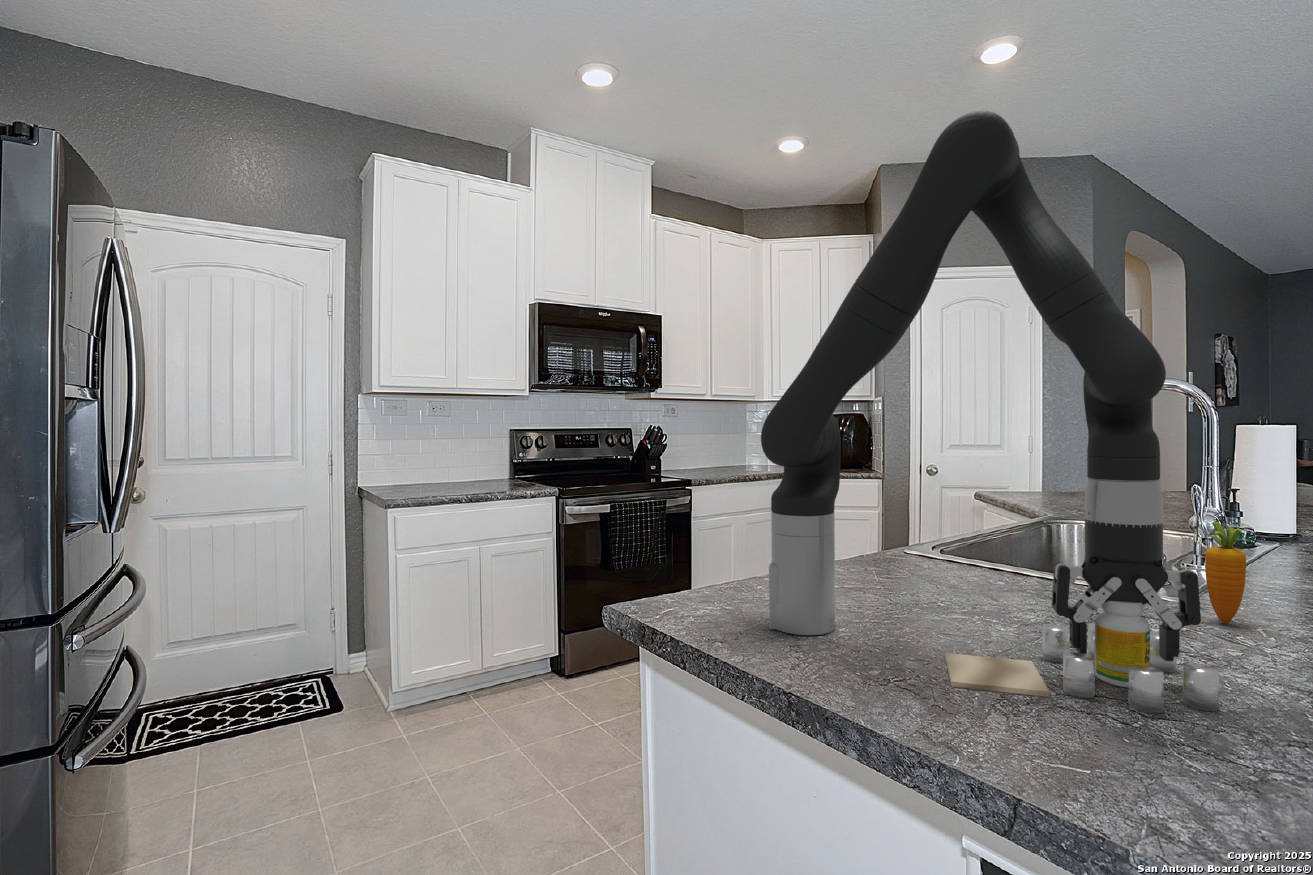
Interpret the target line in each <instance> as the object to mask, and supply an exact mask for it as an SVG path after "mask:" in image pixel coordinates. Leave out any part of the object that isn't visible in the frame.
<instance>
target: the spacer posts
mask: <svg viewBox="0 0 1313 875" xmlns="http://www.w3.org/2000/svg"><path fill="white" fill-rule="evenodd" d="M1041 626H1042V629H1041V635H1042V637H1041V639H1042V641H1041V642H1042V644H1041V649H1042V650H1041V656H1042V659H1044V660H1045V661H1047V662H1051V663H1056V664H1057V663H1058V664H1060V663H1061V664H1062V668H1063V669H1062V670H1063V671H1062V674H1063V676H1062V680H1063V681H1062V682H1063V684H1062V685H1063V688H1062V689H1063V692H1064V693H1065V694H1066V695H1070V696H1071V697H1075V698H1081V699H1093V698H1094V697H1095V695H1096V693H1095V688H1096V685H1095V683H1096V678H1095V677H1096V675H1095V622H1090V623H1088V624H1087V654H1080V653H1078V652H1071V651H1070V648H1071V647H1070V644H1071V642H1070V627H1067V626H1064V625H1059V624H1052V623H1050V624H1049V623H1048V624H1043V625H1041ZM1176 672H1177V657H1174V659H1173V662H1172V661H1165V660H1163V659H1162V658H1161V657H1160V654H1159V631H1150V667H1149V666H1143V665H1131V666H1129V688H1128V706H1129V707H1130V708H1131V709H1134V710H1135V711H1139V712H1142V713H1147V714H1161V713H1164V676H1165V675H1164V673H1165V674H1166V673H1167V674H1173V673H1176ZM1219 691H1220V670H1219V669H1217V668H1215V667H1213V666H1210V665H1206V664H1202V663H1197V662H1196V663H1195V662H1187V663H1184V664H1183V665H1182V704H1184V705H1186V706H1187V707H1189V708H1191V709H1195V710H1199V711H1204V712H1217V711H1219V710H1220V704H1219V703H1220V692H1219Z"/></svg>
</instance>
